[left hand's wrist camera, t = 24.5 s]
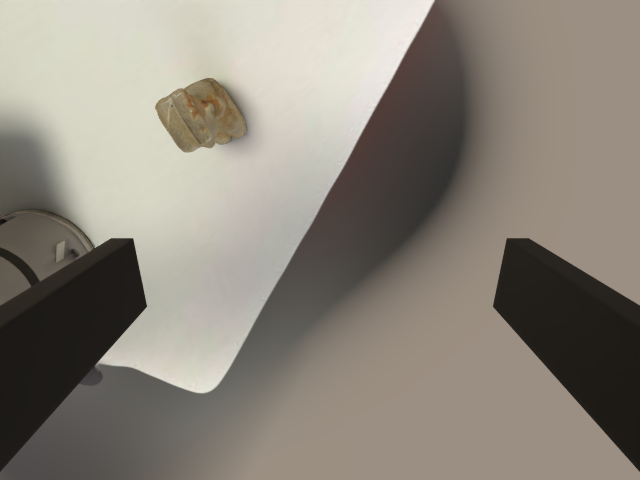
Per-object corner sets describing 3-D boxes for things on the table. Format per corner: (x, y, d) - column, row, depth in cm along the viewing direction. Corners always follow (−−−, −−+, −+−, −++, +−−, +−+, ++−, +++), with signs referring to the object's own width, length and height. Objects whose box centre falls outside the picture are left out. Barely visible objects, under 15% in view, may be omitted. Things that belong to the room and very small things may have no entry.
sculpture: (215, 148, 45) (168, 165, 31) (188, 93, 43) (123, 84, 29) (255, 131, 44) (225, 139, 30) (229, 74, 42) (184, 54, 28)
